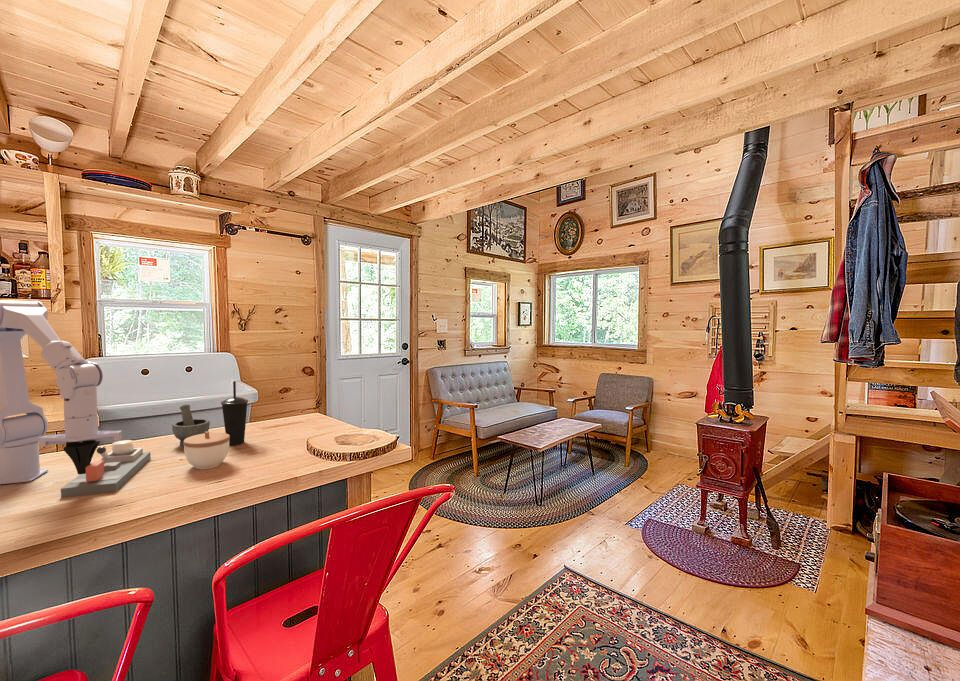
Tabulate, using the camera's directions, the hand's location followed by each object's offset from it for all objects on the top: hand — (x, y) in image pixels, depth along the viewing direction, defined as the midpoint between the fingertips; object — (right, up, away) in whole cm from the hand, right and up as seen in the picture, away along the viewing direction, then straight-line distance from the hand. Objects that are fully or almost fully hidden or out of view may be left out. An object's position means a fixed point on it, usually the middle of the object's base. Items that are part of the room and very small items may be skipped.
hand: (83, 472), depth 102 cm
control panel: (-1, -3, +9) cm, 9 cm away
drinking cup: (+15, -2, +37) cm, 40 cm away
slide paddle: (+2, -2, +1) cm, 3 cm away
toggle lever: (-1, +1, +8) cm, 8 cm away
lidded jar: (+18, -3, +17) cm, 25 cm away
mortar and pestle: (+1, -2, +36) cm, 36 cm away
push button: (-4, +1, +16) cm, 16 cm away
